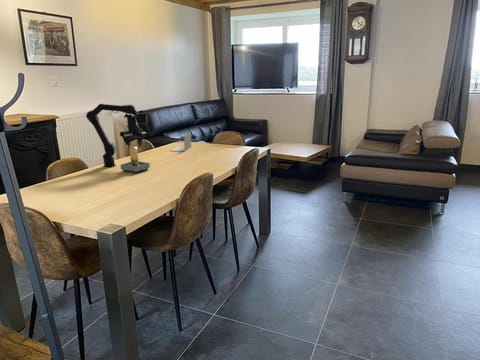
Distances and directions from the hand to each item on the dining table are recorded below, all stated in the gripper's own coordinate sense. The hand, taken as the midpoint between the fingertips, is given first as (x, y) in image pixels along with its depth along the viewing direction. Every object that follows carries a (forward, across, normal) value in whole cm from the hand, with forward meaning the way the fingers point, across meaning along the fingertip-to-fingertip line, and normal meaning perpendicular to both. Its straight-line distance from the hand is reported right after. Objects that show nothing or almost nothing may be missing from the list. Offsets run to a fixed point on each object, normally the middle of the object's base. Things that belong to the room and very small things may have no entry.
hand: (134, 146), depth 250 cm
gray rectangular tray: (+13, -10, +13) cm, 21 cm away
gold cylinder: (+10, -10, +13) cm, 19 cm away
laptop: (+14, -1, -56) cm, 58 cm away
